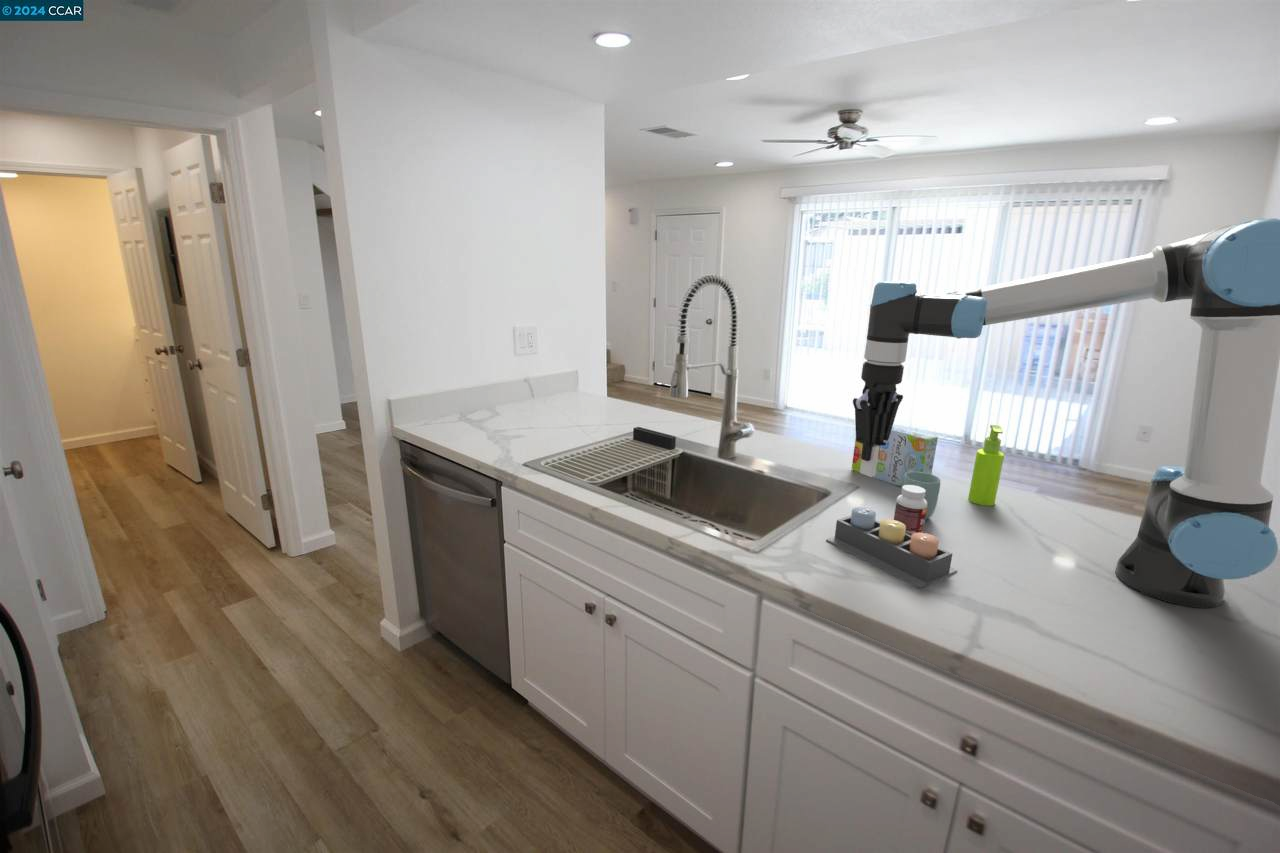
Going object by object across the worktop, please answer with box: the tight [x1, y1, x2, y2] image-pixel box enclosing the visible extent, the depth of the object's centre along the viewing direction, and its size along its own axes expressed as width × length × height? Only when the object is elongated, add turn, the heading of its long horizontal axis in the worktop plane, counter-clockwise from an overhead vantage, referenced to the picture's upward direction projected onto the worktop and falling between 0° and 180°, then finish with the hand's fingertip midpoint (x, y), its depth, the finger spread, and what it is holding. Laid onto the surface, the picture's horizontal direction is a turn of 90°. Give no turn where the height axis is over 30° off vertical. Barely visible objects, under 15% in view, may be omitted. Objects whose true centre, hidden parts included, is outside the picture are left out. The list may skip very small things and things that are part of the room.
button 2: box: [878, 518, 906, 545], centre depth 117 cm, size 5×5×5 cm
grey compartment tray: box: [825, 515, 958, 589], centre depth 118 cm, size 22×12×4 cm, turn 32°
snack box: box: [851, 425, 939, 488], centre depth 159 cm, size 21×6×15 cm, turn 34°
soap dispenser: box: [967, 424, 1005, 507], centre depth 144 cm, size 6×7×20 cm
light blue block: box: [850, 506, 877, 531], centre depth 123 cm, size 5×5×5 cm
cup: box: [900, 472, 941, 520], centre depth 136 cm, size 8×8×10 cm
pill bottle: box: [893, 485, 927, 535], centre depth 126 cm, size 6×6×11 cm
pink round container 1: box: [909, 532, 940, 560], centre depth 111 cm, size 5×5×5 cm
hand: (867, 474), depth 120 cm, fingers closed
